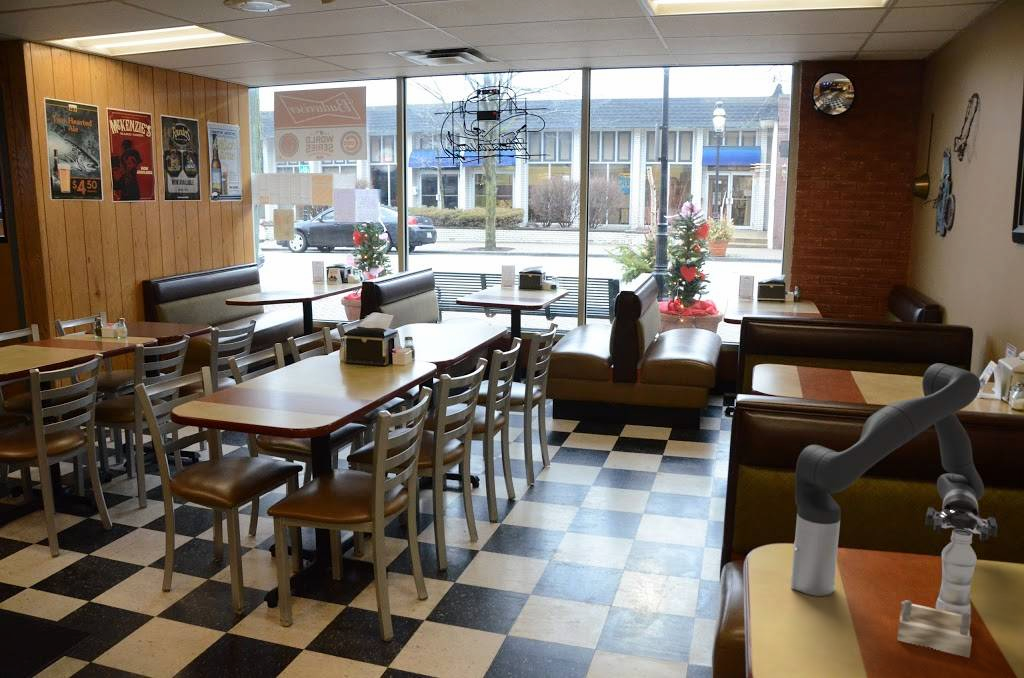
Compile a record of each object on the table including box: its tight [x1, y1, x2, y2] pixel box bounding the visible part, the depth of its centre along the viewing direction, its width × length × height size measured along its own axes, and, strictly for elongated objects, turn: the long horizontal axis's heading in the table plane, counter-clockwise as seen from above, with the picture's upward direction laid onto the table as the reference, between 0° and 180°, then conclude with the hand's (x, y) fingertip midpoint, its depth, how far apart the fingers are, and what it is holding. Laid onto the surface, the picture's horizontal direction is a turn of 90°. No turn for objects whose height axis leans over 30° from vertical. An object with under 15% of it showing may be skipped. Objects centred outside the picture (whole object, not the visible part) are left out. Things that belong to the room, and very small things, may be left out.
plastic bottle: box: [935, 528, 978, 616], centre depth 175 cm, size 6×7×20 cm
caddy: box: [896, 599, 973, 659], centre depth 169 cm, size 13×10×6 cm
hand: (960, 533), depth 183 cm, fingers open, 8 cm apart
